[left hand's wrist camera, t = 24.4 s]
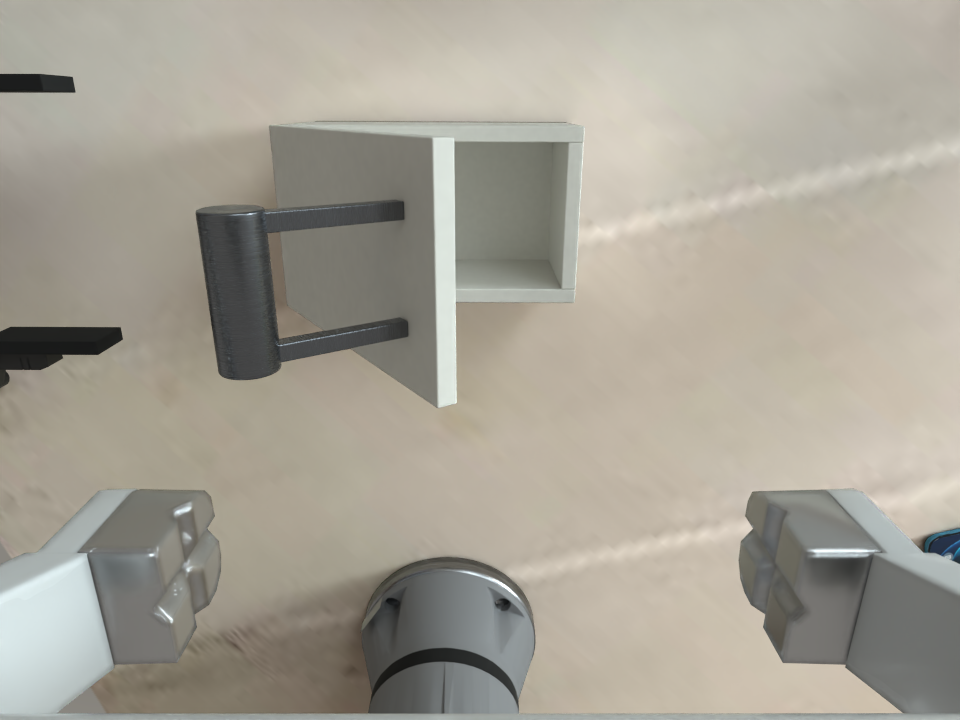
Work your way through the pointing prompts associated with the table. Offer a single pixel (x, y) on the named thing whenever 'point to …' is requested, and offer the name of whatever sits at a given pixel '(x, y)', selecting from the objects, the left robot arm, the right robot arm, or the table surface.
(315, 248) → the lid
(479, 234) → the chest
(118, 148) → the table surface
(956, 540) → the smartphone
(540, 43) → the table surface
